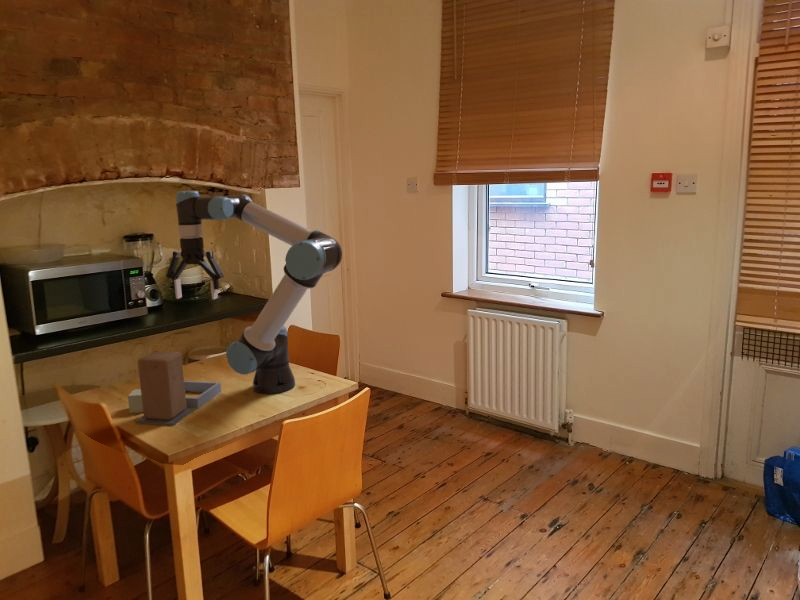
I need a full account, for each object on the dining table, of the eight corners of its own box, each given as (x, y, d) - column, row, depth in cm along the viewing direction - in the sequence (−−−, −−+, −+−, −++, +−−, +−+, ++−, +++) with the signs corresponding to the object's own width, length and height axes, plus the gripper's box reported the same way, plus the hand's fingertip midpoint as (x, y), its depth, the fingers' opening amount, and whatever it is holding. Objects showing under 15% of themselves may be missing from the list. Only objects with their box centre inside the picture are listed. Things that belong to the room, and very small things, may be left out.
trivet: (194, 410, 205) (194, 407, 204) (172, 425, 192) (172, 423, 192) (159, 408, 207) (159, 405, 207) (135, 423, 195) (135, 420, 195)
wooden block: (171, 421, 194) (164, 360, 190) (142, 419, 196) (135, 359, 192) (188, 409, 203) (182, 351, 199) (160, 407, 205) (154, 350, 201)
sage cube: (154, 405, 210) (152, 388, 209) (148, 412, 204) (146, 395, 203) (136, 406, 210) (134, 389, 208) (129, 412, 204) (127, 395, 203)
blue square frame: (221, 391, 221) (220, 382, 221) (198, 408, 206) (197, 398, 205) (180, 389, 224) (179, 380, 224) (155, 405, 209) (154, 396, 208)
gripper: (230, 235, 210) (235, 296, 214) (164, 235, 215) (170, 295, 219) (219, 238, 203) (225, 301, 207) (151, 238, 208) (158, 299, 212)
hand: (196, 298), depth 213 cm, fingers open, 13 cm apart
